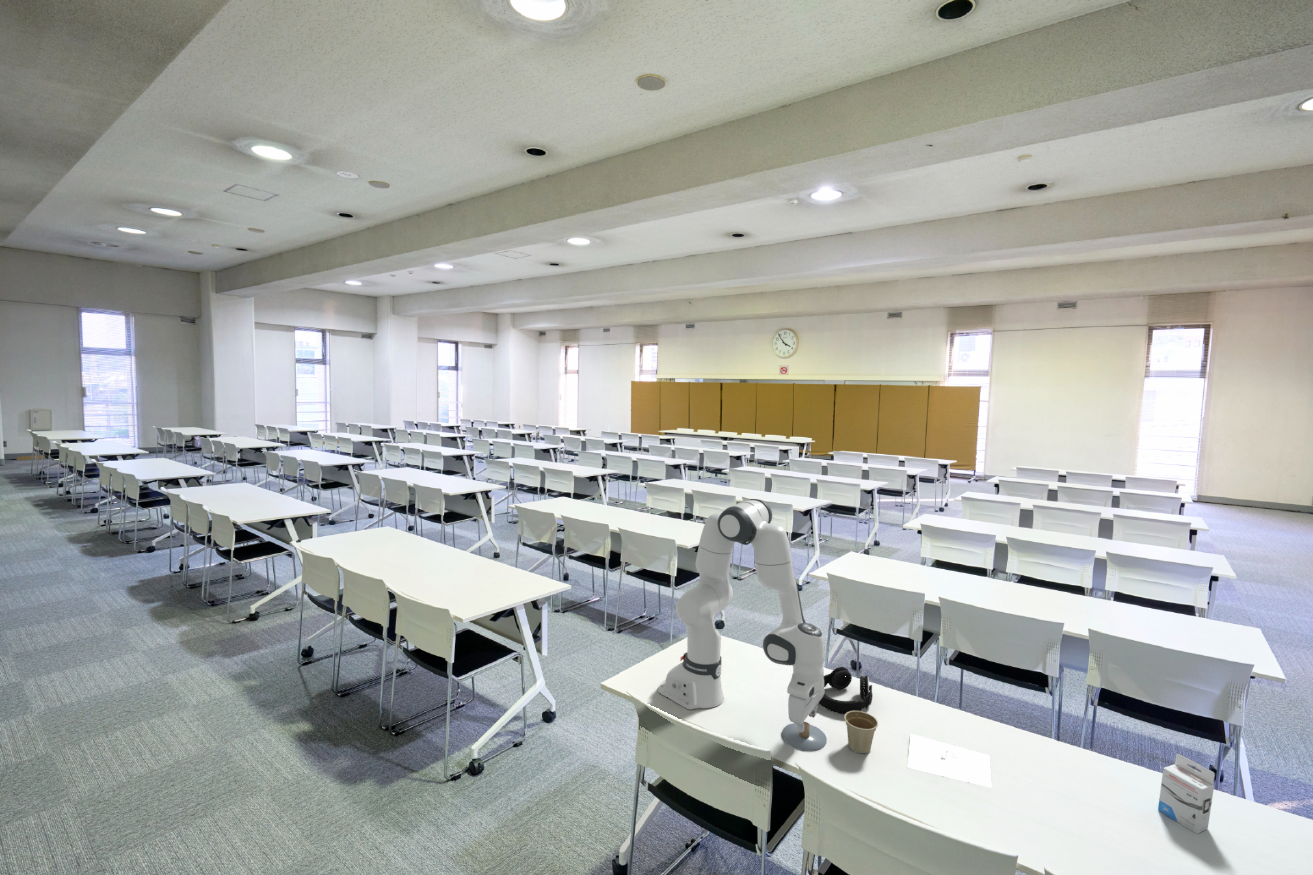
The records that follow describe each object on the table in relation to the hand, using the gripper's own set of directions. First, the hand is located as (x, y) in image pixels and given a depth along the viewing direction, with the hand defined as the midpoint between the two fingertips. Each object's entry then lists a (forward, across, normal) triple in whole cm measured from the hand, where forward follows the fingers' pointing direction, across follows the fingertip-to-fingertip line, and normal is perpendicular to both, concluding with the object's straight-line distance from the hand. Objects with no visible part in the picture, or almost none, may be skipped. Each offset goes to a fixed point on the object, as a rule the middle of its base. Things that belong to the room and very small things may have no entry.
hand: (806, 723), depth 179 cm
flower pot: (+5, -5, +14) cm, 16 cm away
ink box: (+7, -24, +88) cm, 92 cm away
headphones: (+5, -28, +2) cm, 29 cm away
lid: (+5, 0, -1) cm, 5 cm away
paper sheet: (+6, -8, +37) cm, 39 cm away
